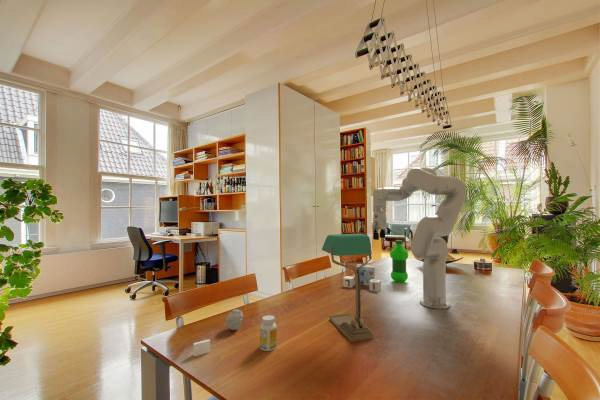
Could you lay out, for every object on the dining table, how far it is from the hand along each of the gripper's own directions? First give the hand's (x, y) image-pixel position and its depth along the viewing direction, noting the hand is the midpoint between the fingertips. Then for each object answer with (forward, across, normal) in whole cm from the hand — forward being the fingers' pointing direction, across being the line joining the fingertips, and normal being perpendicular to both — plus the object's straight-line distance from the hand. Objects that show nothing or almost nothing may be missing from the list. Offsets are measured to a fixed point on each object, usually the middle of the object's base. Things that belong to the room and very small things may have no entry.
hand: (379, 238), depth 164 cm
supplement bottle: (+26, -92, 0) cm, 96 cm away
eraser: (+26, -107, +14) cm, 111 cm away
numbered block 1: (+27, -11, -2) cm, 29 cm away
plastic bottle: (+27, +13, -8) cm, 31 cm away
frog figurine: (+26, -90, +20) cm, 96 cm away
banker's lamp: (+26, -63, -13) cm, 69 cm away
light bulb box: (+27, -3, +7) cm, 28 cm away
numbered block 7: (+27, -13, +13) cm, 33 cm away
